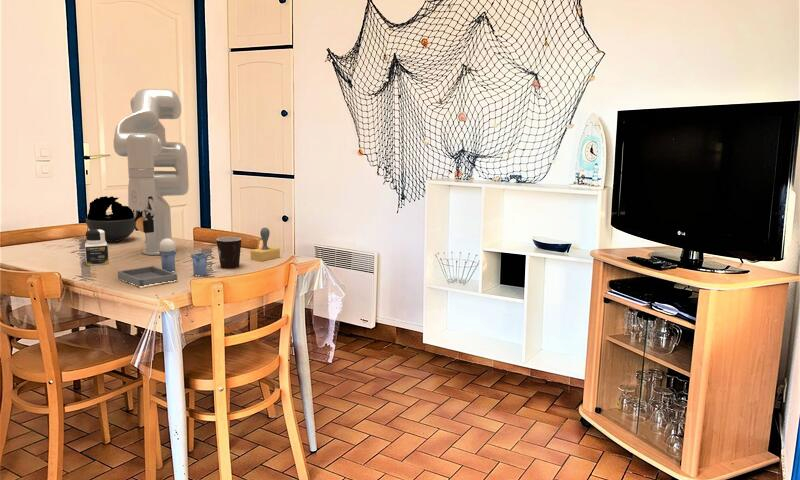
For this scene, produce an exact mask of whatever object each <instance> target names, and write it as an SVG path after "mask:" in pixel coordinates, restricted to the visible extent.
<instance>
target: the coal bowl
mask: <svg viewBox="0 0 800 480" xmlns="http://www.w3.org/2000/svg"><path fill="white" fill-rule="evenodd" d="M119 198H120V197H114V196H112V195H111V196H106V195H105V196H100V197H96V198H94V199H93V200H92V201H91V202H89V208H88V213H87V215H86V216H87V217H86V218H85V223H86V225H87V228H88V231H89V230H95V229H100V230H103V231H104V232H105V241H106V242H119V241H122V240H124V239H126V238H128V237H129V236H130V235H132V233H134V232H135V231H136V230H135V218H134V213H133V210H132V209H130V208H129V206H128V205H123V204H122V203H120V202H119V201H117V200H118V199H119ZM109 208H110V209H111V213H108V214H107V210H109Z"/></svg>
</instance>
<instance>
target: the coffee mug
mask: <svg viewBox="0 0 800 480" xmlns="http://www.w3.org/2000/svg"><path fill="white" fill-rule="evenodd" d="M215 241H216V246H217V247H216V248H217V252H218V260H219V267H220V268H221V269H225V270H230V269H237V268H240V259H241V252H242V251H241V249H242V237H238V236H223V237H219V238H216V240H215Z"/></svg>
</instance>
